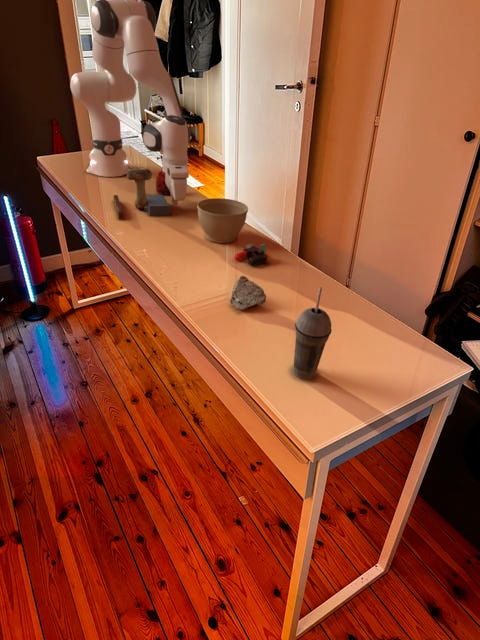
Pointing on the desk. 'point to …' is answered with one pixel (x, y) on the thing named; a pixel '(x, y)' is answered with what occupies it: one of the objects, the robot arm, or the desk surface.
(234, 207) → the planter bowl
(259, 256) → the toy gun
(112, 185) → the desk surface
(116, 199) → the ledge
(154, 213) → the block
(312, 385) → the desk surface
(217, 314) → the desk surface
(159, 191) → the red clay folk toy
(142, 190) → the mushroom
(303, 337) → the beverage cup
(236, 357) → the desk surface
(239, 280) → the rock sample
